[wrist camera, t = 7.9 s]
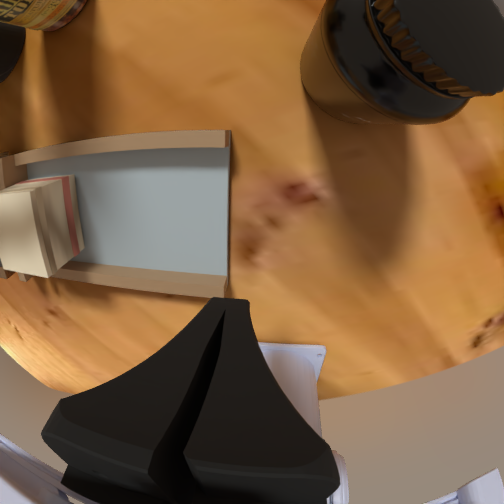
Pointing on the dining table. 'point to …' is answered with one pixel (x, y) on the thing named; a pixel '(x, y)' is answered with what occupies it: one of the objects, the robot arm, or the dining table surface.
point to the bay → (143, 208)
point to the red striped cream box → (40, 225)
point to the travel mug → (10, 47)
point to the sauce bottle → (39, 13)
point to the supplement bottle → (403, 59)
